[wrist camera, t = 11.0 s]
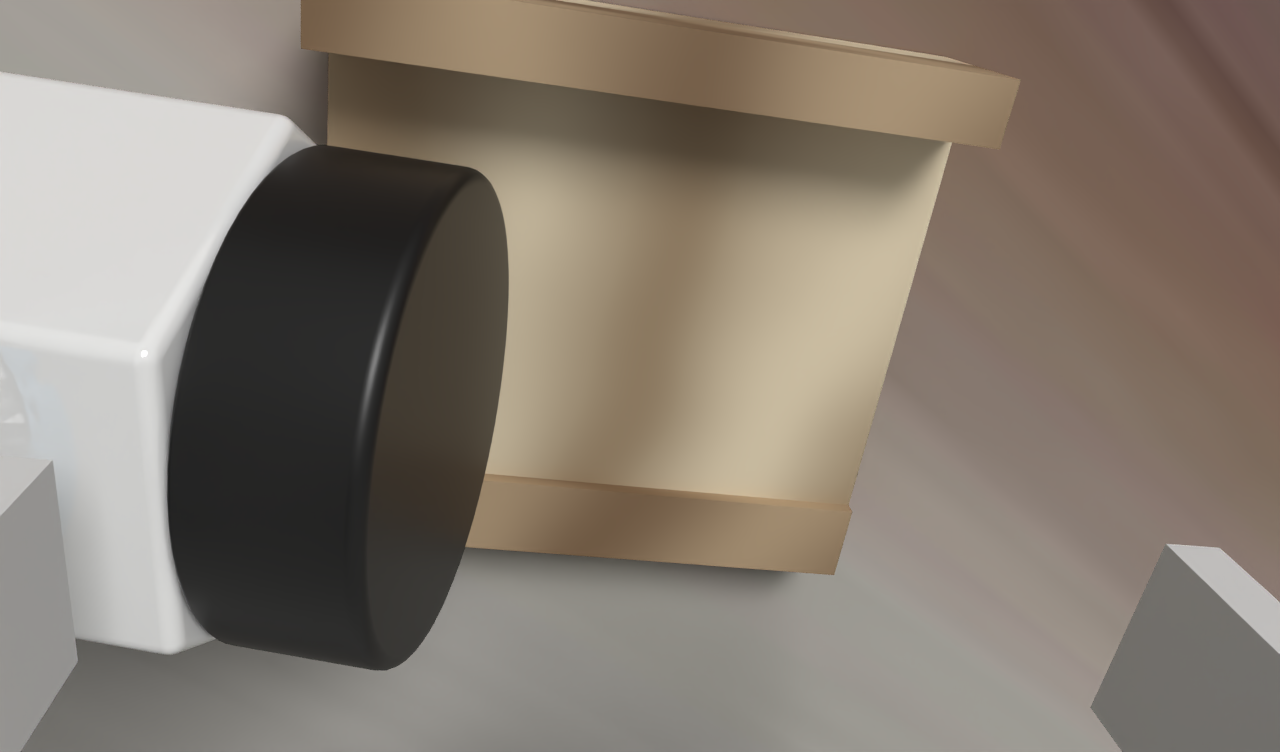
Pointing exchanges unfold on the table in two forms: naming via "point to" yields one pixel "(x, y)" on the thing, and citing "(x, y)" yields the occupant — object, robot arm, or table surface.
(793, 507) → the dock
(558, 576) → the table surface
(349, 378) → the jar
